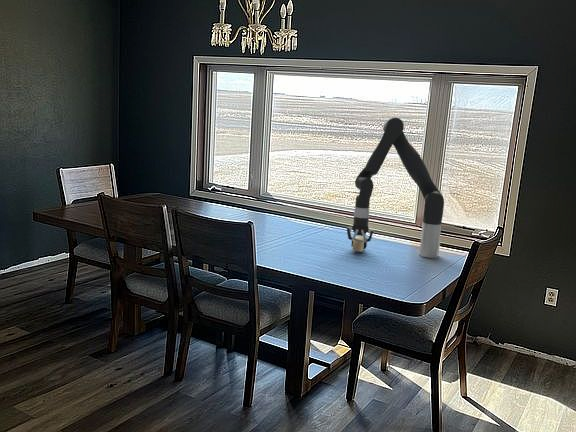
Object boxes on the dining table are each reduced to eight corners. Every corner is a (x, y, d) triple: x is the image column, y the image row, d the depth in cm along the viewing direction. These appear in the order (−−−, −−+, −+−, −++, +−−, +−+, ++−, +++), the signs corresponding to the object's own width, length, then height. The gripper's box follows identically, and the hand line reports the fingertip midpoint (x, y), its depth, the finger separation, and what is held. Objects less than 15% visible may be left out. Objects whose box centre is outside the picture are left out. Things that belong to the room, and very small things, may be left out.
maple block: (353, 240, 294) (356, 235, 306) (352, 250, 295) (355, 244, 307) (363, 242, 293) (365, 236, 305) (362, 251, 294) (365, 246, 306)
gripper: (376, 215, 299) (373, 248, 303) (348, 212, 302) (345, 244, 306) (374, 218, 292) (372, 251, 295) (346, 215, 295) (343, 248, 299)
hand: (358, 248), depth 301 cm, fingers closed on maple block, 5 cm apart
